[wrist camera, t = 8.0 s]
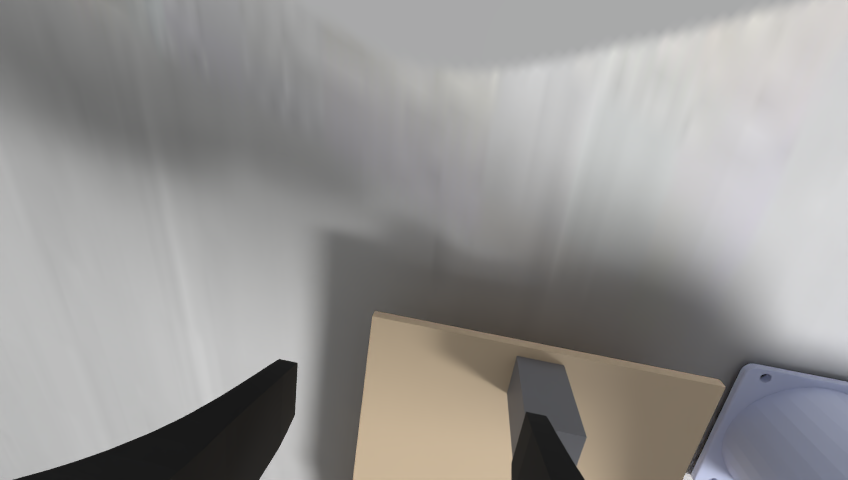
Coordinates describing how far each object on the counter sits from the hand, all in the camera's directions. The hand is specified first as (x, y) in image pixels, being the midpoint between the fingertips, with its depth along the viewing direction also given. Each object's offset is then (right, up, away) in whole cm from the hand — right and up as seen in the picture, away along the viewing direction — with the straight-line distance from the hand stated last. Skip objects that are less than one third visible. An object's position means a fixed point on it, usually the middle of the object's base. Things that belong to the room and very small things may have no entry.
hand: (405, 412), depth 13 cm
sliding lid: (+4, -7, +8) cm, 11 cm away
